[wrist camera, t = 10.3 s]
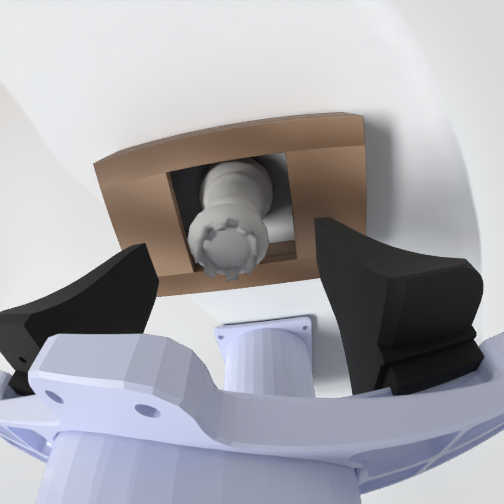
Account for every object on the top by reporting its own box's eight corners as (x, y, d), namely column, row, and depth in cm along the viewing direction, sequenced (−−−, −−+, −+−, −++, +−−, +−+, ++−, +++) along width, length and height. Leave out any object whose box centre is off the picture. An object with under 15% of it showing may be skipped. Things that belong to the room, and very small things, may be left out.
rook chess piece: (275, 155, 17) (292, 199, 10) (270, 222, 19) (279, 302, 12) (201, 152, 17) (163, 195, 10) (202, 220, 19) (173, 297, 12)
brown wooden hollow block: (348, 243, 20) (363, 271, 17) (156, 268, 21) (141, 298, 18) (342, 112, 15) (362, 116, 12) (119, 150, 16) (93, 163, 13)
